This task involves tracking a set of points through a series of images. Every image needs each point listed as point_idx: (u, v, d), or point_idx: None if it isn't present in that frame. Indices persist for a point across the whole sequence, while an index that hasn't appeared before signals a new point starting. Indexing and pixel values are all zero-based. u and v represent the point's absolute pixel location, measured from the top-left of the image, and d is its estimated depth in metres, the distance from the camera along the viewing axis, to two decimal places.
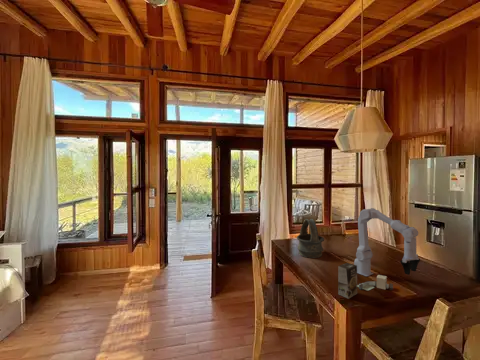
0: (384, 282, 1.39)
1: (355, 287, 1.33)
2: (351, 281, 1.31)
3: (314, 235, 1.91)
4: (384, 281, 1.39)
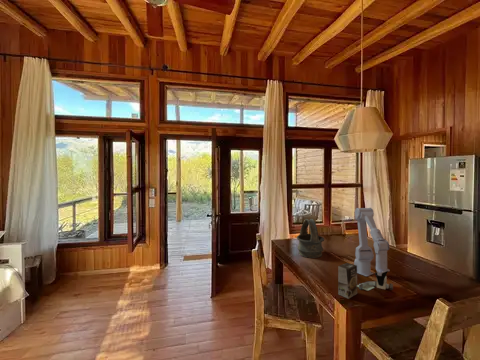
0: (384, 282, 1.39)
1: (355, 287, 1.33)
2: (351, 281, 1.31)
3: (314, 235, 1.91)
4: (384, 281, 1.39)
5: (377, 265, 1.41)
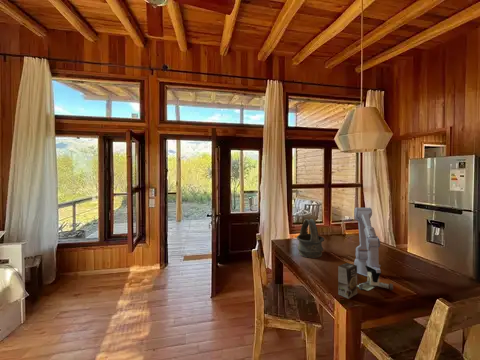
0: (378, 278, 1.41)
1: (355, 287, 1.33)
2: (351, 281, 1.31)
3: (314, 235, 1.91)
4: None
5: (371, 262, 1.41)
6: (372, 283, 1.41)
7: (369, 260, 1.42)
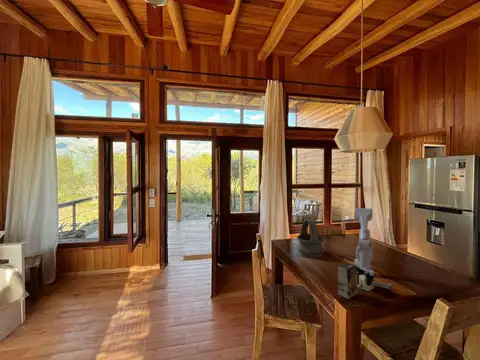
0: None
1: (355, 287, 1.33)
2: (351, 281, 1.31)
3: (314, 235, 1.91)
4: None
5: (364, 265, 1.39)
6: (365, 286, 1.40)
7: (362, 262, 1.40)
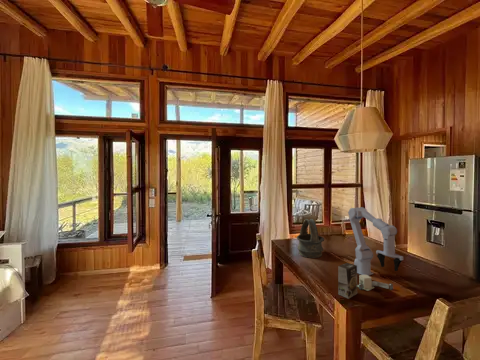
0: (370, 281, 1.40)
1: (355, 287, 1.33)
2: (351, 281, 1.31)
3: (314, 235, 1.91)
4: (370, 280, 1.40)
5: (391, 251, 1.41)
6: (365, 286, 1.40)
7: (389, 249, 1.41)
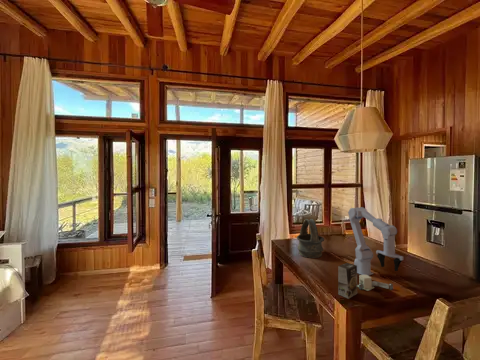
0: (370, 281, 1.40)
1: (355, 287, 1.33)
2: (351, 281, 1.31)
3: (314, 235, 1.91)
4: (370, 280, 1.40)
5: (391, 251, 1.41)
6: (365, 286, 1.40)
7: (389, 249, 1.41)
